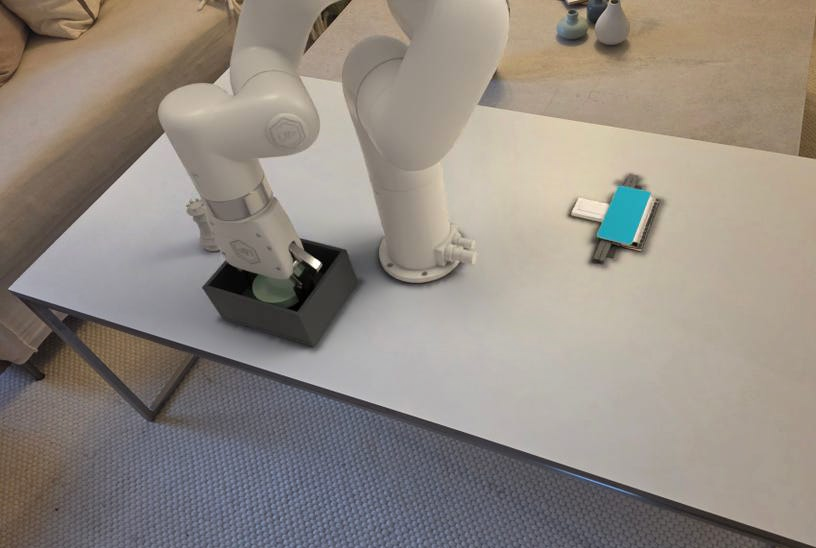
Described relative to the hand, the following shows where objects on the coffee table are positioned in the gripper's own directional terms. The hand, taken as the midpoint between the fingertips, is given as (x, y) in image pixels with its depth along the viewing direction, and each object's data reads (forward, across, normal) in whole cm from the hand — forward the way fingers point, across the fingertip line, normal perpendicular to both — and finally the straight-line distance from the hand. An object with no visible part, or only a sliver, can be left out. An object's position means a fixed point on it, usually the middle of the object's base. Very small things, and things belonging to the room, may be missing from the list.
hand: (284, 291), depth 82 cm
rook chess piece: (+2, -18, +7) cm, 19 cm away
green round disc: (+1, 0, 0) cm, 1 cm away
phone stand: (+2, +39, +31) cm, 50 cm away
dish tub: (+2, 0, 0) cm, 2 cm away
